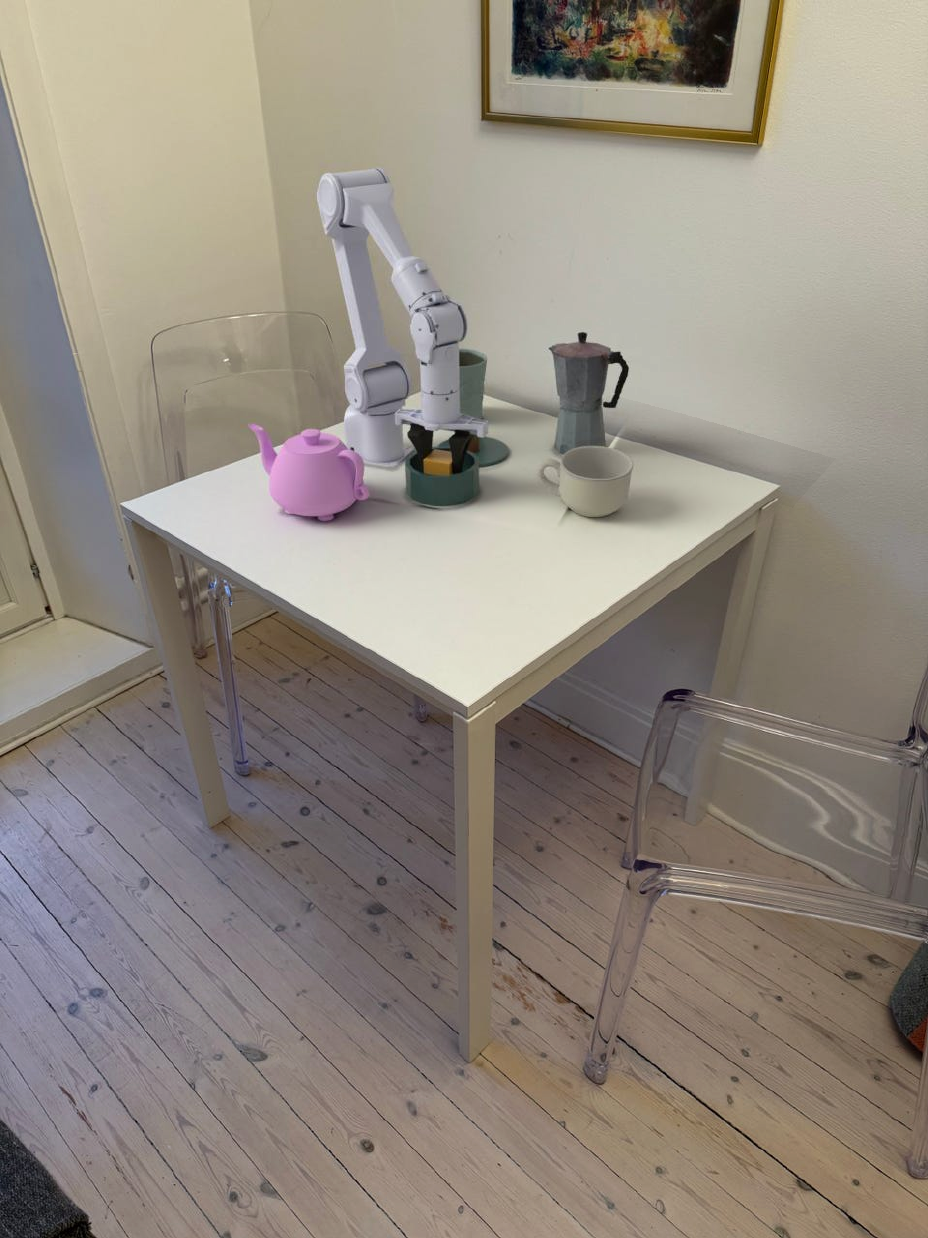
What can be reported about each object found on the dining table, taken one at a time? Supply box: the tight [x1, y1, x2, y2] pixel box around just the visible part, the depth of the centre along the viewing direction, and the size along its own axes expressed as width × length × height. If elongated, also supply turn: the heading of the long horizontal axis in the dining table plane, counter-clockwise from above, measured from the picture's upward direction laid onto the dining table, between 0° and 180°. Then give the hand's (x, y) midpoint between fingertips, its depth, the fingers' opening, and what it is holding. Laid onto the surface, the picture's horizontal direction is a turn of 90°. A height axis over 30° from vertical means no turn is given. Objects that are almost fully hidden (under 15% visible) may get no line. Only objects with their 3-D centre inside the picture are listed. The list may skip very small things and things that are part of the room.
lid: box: [436, 435, 509, 468], centre depth 151 cm, size 12×12×4 cm
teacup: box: [537, 446, 634, 518], centre depth 133 cm, size 14×11×8 cm
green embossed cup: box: [459, 348, 488, 420], centre depth 162 cm, size 10×10×12 cm
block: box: [424, 449, 452, 475], centre depth 138 cm, size 4×4×4 cm
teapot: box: [247, 422, 371, 522], centre depth 134 cm, size 20×14×12 cm
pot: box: [404, 446, 480, 510], centre depth 139 cm, size 11×11×5 cm
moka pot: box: [548, 331, 630, 455], centre depth 148 cm, size 10×15×20 cm, turn 54°
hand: (442, 472), depth 138 cm, fingers closed on block, 4 cm apart
